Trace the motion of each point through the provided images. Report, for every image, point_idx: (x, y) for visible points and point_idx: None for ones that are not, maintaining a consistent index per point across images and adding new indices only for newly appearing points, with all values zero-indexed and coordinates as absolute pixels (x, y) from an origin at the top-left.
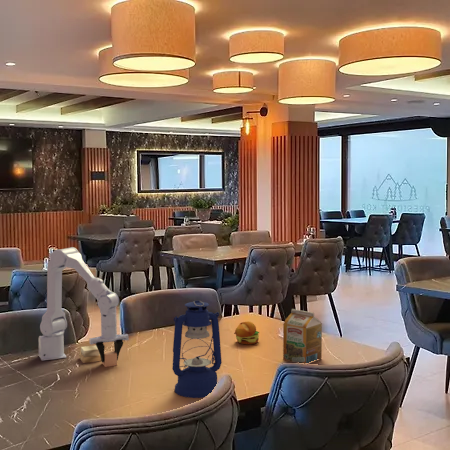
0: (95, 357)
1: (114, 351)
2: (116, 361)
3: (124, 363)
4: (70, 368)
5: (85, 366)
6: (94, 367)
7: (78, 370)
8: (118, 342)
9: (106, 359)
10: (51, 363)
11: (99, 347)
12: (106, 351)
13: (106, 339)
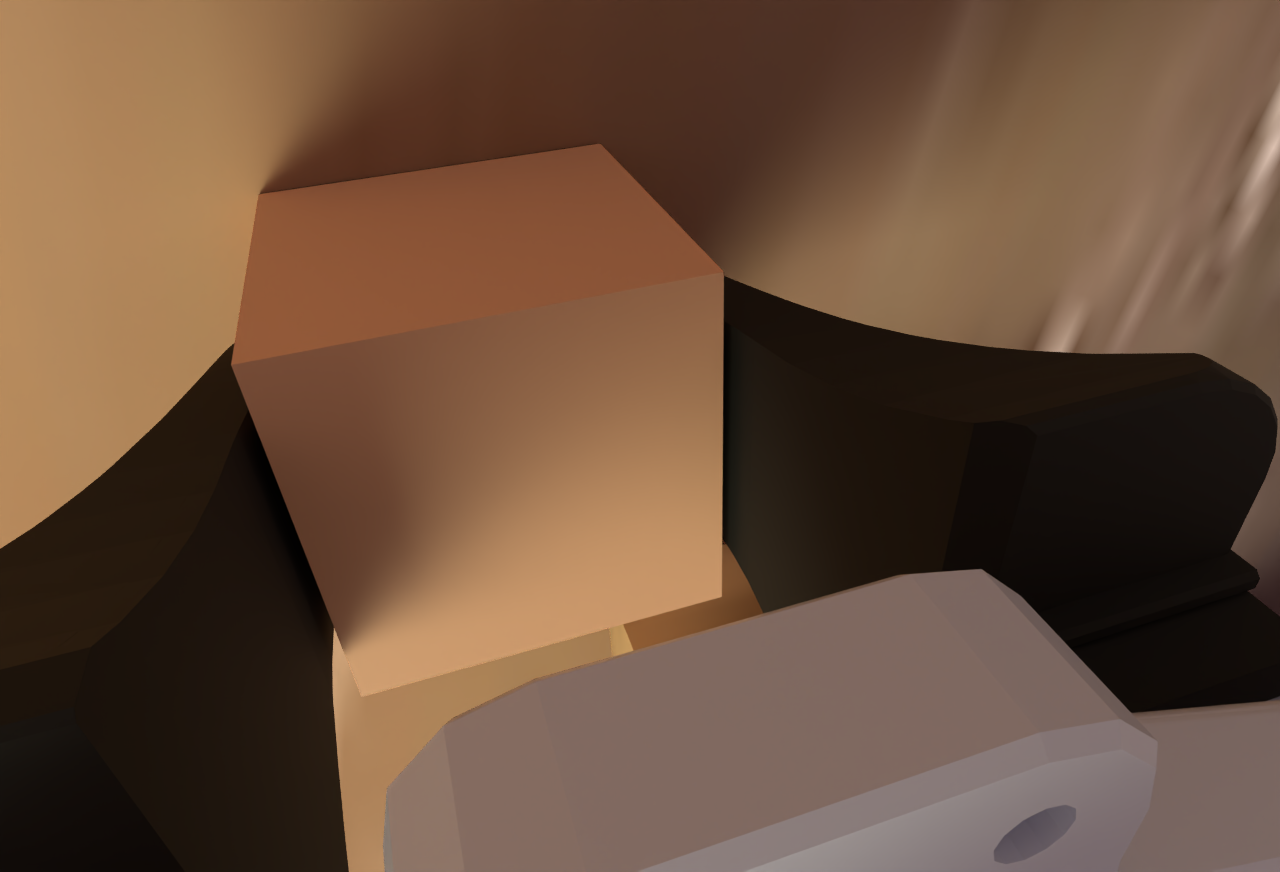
0: (746, 604)
1: (335, 607)
2: (270, 235)
3: (20, 307)
4: (1210, 251)
5: (964, 302)
6: (840, 177)
7: (1182, 62)
8: (11, 860)
9: (622, 213)
10: (1245, 541)
11: (1176, 361)
12: (594, 627)
13: (1196, 823)
